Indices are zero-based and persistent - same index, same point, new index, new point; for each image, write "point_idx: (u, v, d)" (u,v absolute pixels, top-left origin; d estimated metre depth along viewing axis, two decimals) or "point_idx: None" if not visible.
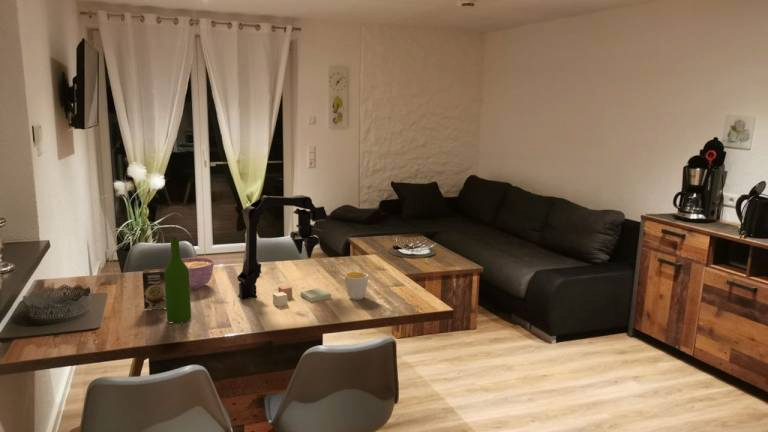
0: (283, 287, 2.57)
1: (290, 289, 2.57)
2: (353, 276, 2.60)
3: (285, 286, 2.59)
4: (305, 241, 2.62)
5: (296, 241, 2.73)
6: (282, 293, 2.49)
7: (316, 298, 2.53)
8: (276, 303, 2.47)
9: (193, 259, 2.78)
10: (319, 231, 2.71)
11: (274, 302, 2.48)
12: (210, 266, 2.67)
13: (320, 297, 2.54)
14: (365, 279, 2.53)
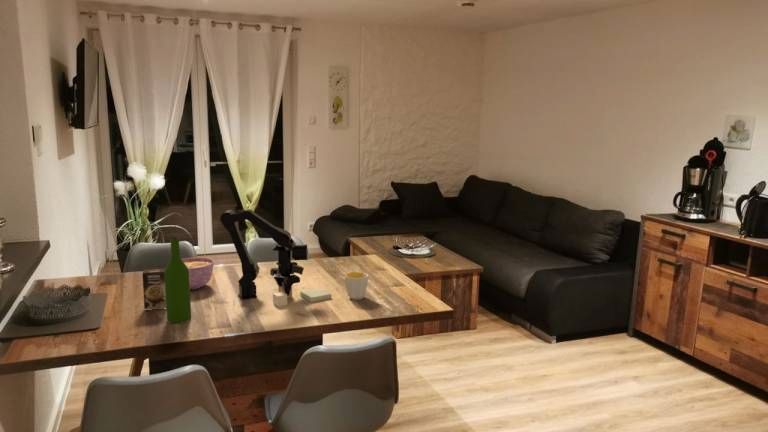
0: None
1: None
2: (353, 276, 2.60)
3: None
4: (285, 280, 2.50)
5: (278, 280, 2.59)
6: (282, 293, 2.49)
7: (316, 298, 2.53)
8: (276, 303, 2.47)
9: (193, 259, 2.78)
10: (300, 268, 2.58)
11: (274, 302, 2.48)
12: (210, 266, 2.67)
13: (320, 297, 2.54)
14: (365, 279, 2.53)
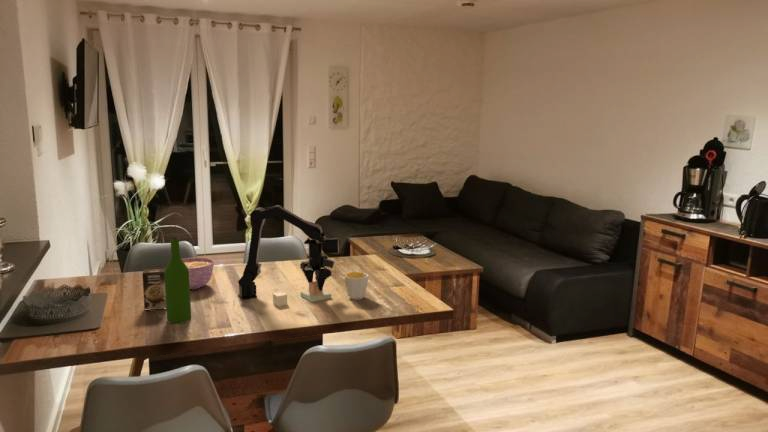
0: (314, 283, 2.56)
1: None
2: (353, 276, 2.60)
3: (315, 282, 2.58)
4: (316, 274, 2.49)
5: (306, 272, 2.60)
6: (282, 293, 2.49)
7: (316, 298, 2.53)
8: (276, 303, 2.47)
9: (193, 259, 2.78)
10: (331, 262, 2.57)
11: (274, 302, 2.48)
12: (210, 266, 2.67)
13: (320, 297, 2.54)
14: (365, 279, 2.53)
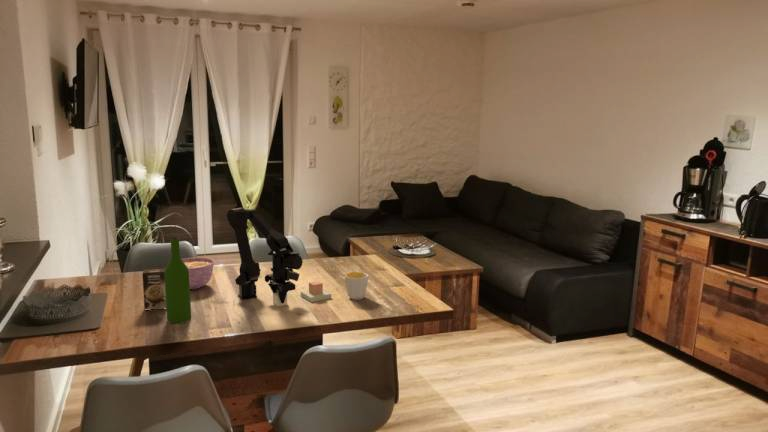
0: (314, 283, 2.56)
1: (321, 285, 2.56)
2: (353, 276, 2.60)
3: (315, 282, 2.58)
4: (279, 287, 2.40)
5: (273, 286, 2.49)
6: None
7: (316, 298, 2.53)
8: (276, 303, 2.47)
9: (193, 259, 2.78)
10: (296, 275, 2.48)
11: (274, 302, 2.48)
12: (210, 266, 2.67)
13: (320, 297, 2.54)
14: (365, 279, 2.53)
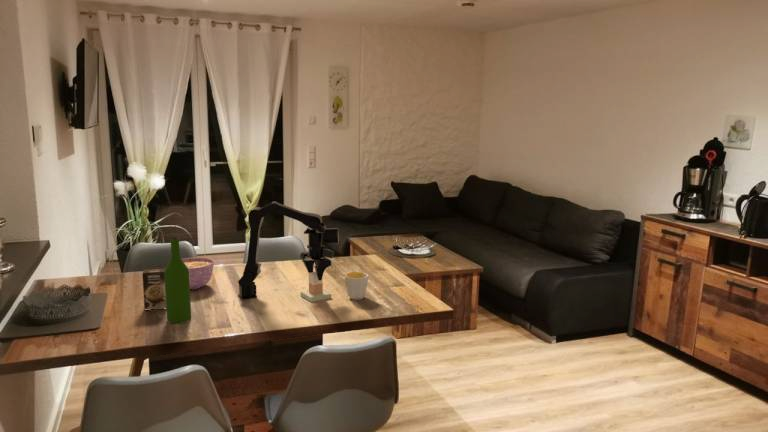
0: None
1: (321, 285, 2.56)
2: (353, 276, 2.60)
3: None
4: (316, 263, 2.48)
5: (307, 263, 2.58)
6: None
7: (316, 298, 2.53)
8: (312, 282, 2.55)
9: (193, 259, 2.78)
10: (331, 252, 2.56)
11: (310, 281, 2.57)
12: (210, 266, 2.67)
13: (320, 297, 2.54)
14: (365, 279, 2.53)
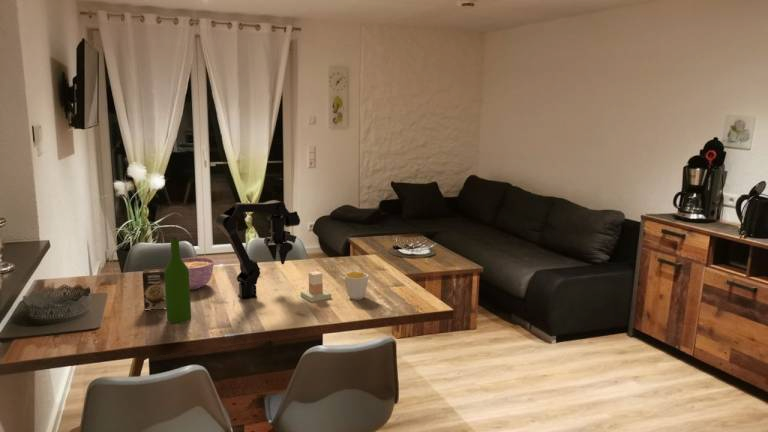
0: None
1: (321, 285, 2.56)
2: (353, 276, 2.60)
3: None
4: (278, 247, 2.58)
5: (270, 247, 2.69)
6: (317, 272, 2.57)
7: (316, 298, 2.53)
8: (312, 282, 2.55)
9: (193, 259, 2.78)
10: (293, 237, 2.66)
11: (310, 281, 2.57)
12: (210, 266, 2.67)
13: (320, 297, 2.54)
14: (365, 279, 2.53)
